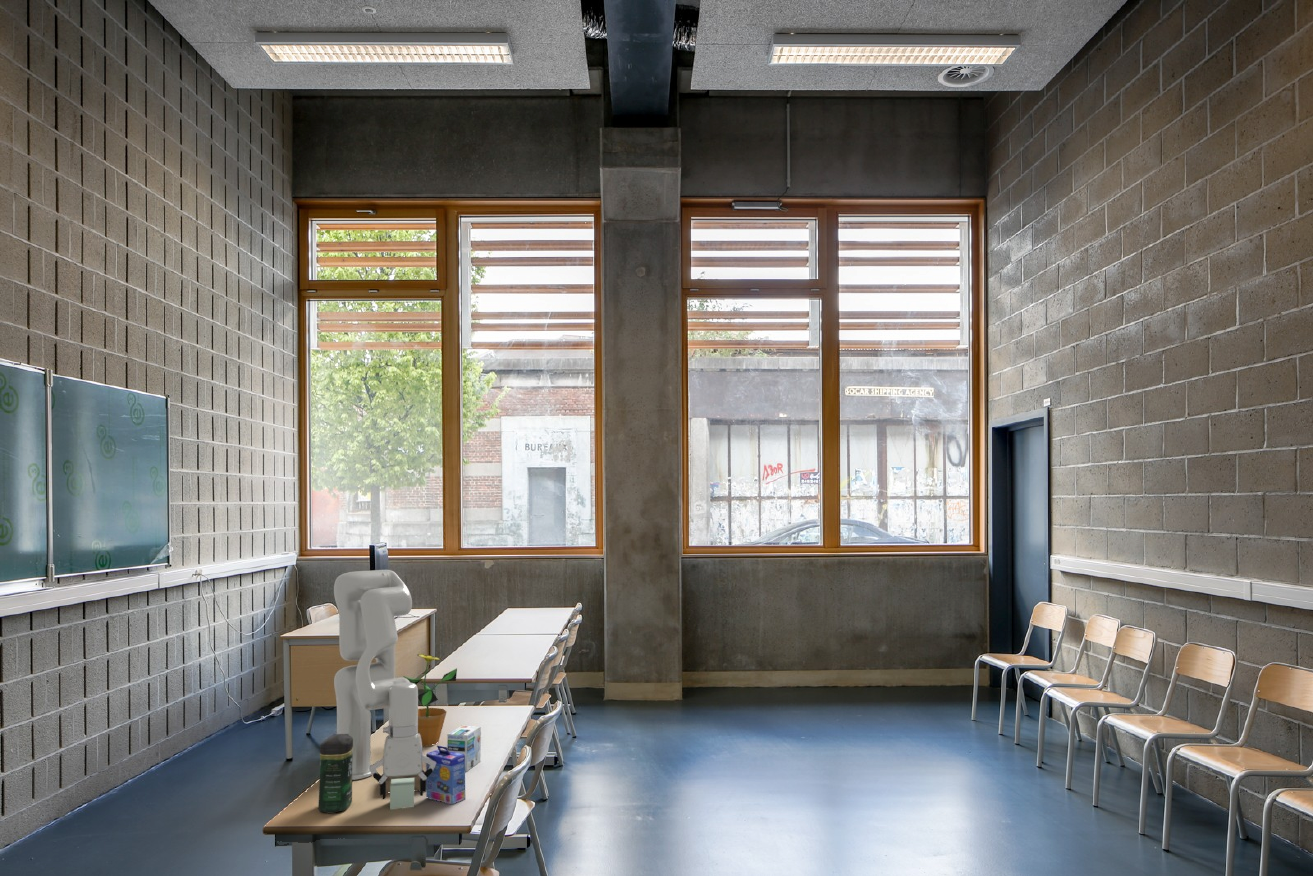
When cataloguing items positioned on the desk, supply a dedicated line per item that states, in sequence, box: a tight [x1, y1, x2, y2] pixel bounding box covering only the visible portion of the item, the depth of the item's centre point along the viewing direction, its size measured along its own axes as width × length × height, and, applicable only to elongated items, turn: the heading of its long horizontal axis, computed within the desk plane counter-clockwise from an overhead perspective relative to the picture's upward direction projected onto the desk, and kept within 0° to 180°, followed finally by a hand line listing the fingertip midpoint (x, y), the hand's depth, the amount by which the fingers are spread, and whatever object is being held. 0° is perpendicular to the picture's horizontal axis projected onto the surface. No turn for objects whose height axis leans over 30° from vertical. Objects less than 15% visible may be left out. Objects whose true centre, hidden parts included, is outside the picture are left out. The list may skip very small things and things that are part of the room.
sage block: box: [389, 778, 415, 810], centre depth 241 cm, size 6×6×6 cm
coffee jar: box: [317, 733, 353, 814], centre depth 239 cm, size 10×8×19 cm
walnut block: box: [385, 762, 426, 794], centre depth 257 cm, size 12×12×5 cm
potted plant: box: [402, 653, 458, 747], centre depth 299 cm, size 18×19×30 cm
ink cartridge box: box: [425, 745, 466, 805], centre depth 245 cm, size 10×6×14 cm, turn 60°
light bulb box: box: [446, 725, 482, 772], centre depth 274 cm, size 11×7×11 cm, turn 168°
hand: (402, 796), depth 241 cm, fingers open, 9 cm apart
